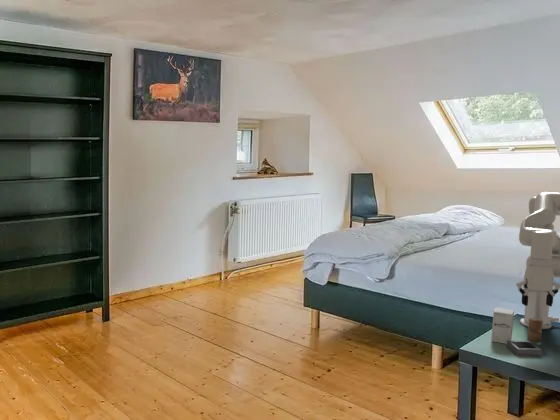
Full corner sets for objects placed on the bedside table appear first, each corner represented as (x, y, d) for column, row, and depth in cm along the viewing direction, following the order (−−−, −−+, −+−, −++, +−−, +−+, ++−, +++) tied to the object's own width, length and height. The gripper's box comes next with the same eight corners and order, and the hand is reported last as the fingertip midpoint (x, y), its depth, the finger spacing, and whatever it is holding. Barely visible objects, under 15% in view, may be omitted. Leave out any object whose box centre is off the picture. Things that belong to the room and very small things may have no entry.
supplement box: (490, 341, 214) (492, 311, 212) (492, 336, 220) (494, 306, 219) (510, 345, 210) (512, 314, 209) (512, 339, 217) (514, 309, 215)
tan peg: (536, 341, 215) (538, 317, 214) (543, 346, 210) (545, 321, 209) (524, 341, 215) (526, 317, 214) (530, 346, 210) (532, 321, 209)
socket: (529, 347, 209) (529, 340, 208) (541, 355, 200) (541, 349, 199) (506, 346, 208) (507, 340, 208) (517, 355, 200) (518, 349, 199)
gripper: (556, 261, 212) (553, 303, 214) (514, 260, 212) (510, 302, 213) (567, 265, 205) (563, 308, 206) (523, 263, 204) (519, 307, 206)
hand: (536, 305), depth 210 cm, fingers open, 9 cm apart
